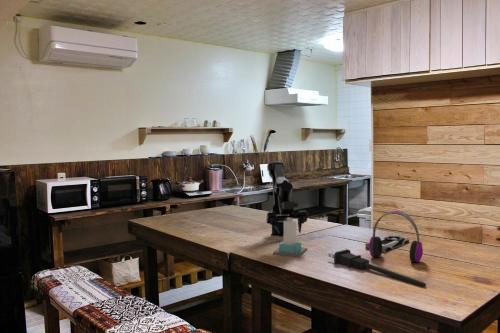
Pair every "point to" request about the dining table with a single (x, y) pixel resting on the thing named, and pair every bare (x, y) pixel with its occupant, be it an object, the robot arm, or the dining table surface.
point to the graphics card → (391, 242)
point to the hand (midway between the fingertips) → (289, 233)
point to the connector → (289, 232)
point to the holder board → (290, 249)
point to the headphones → (415, 246)
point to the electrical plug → (368, 266)
